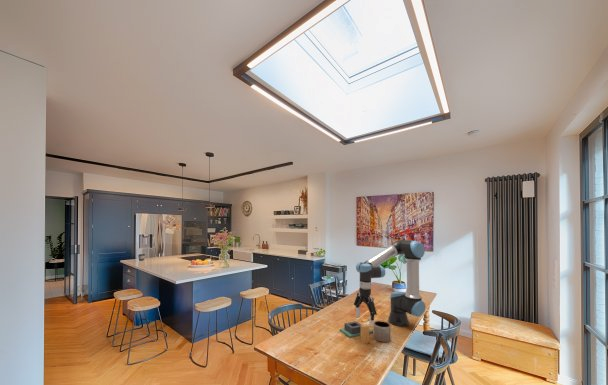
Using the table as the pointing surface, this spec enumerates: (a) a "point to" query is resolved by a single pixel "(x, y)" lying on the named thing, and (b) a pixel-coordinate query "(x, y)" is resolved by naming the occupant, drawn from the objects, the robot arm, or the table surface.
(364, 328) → the plug
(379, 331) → the planter
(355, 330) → the board
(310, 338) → the table surface
